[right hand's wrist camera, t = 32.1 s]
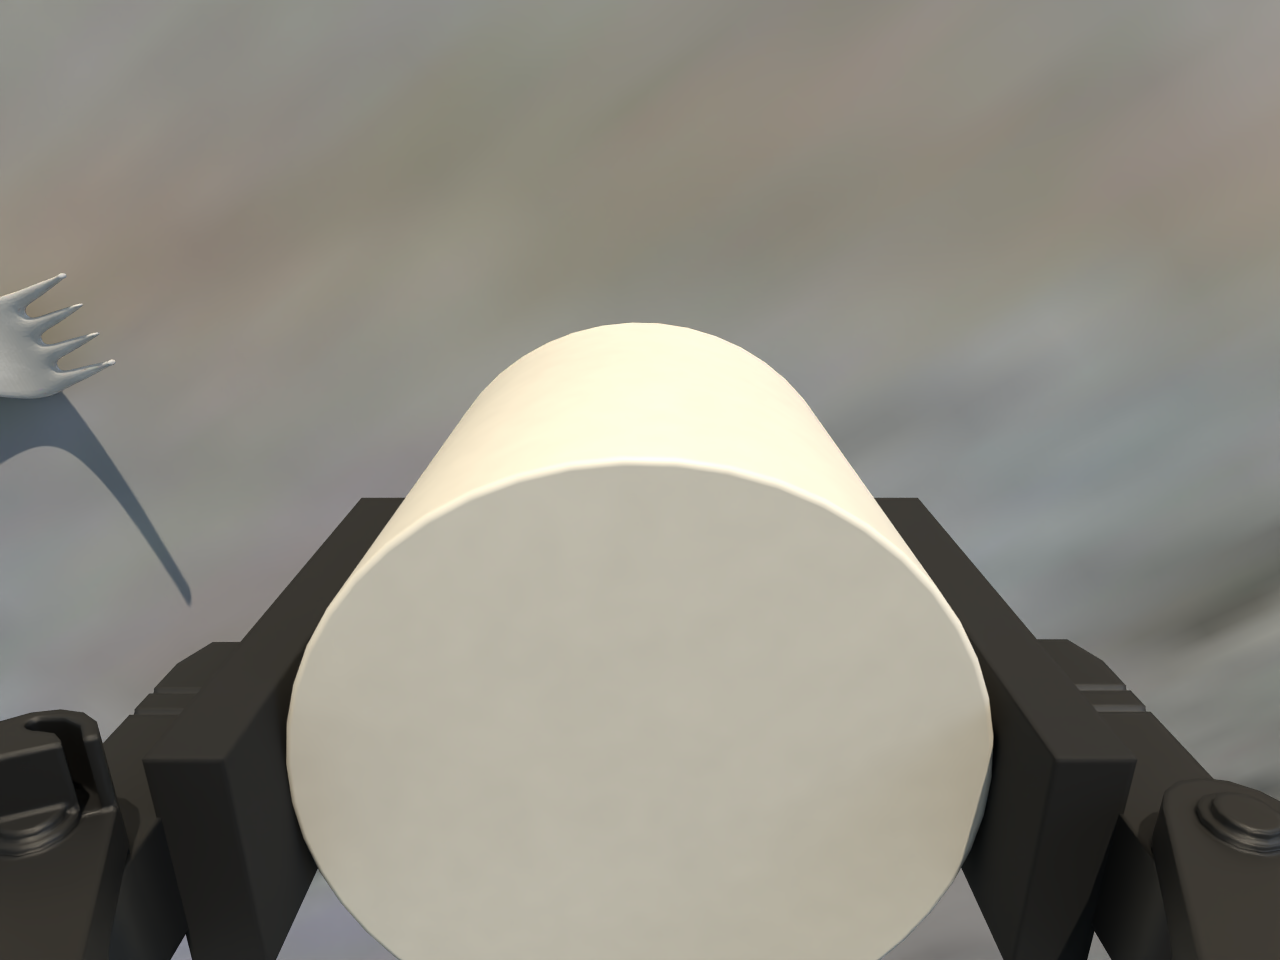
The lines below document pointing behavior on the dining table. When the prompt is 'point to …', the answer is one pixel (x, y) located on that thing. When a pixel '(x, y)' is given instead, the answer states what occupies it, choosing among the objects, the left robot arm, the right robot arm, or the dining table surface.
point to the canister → (639, 682)
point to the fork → (36, 347)
